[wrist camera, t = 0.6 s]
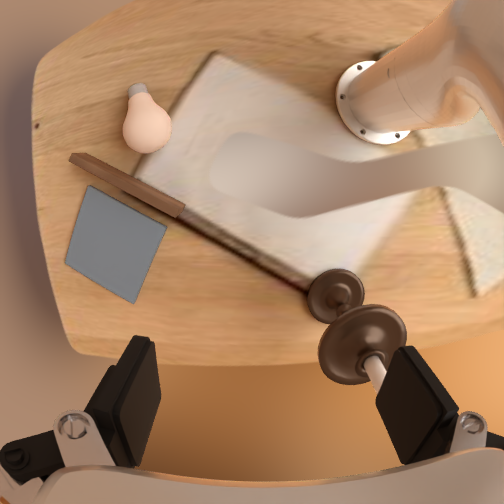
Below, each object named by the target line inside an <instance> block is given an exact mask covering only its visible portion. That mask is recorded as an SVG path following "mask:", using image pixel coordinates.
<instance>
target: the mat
mask: <svg viewBox="0 0 504 504" xmlns="http://www.w3.org/2000/svg"><path fill="white" fill-rule="evenodd" d="M166 229H167V226H165V225H163V224H161V223H159V222H157V221H155V220H154V219H152V218H150V217H148V216H146V215H144V214H142V213H141V212H139V211H137V210H135V209H133V208H131V207H129V206H128V205H126V204H124V203H122V202H120V201H118V200H117V199H115V198H113V197H111V196H109V195H107V194H105V193H104V192H102V191H100V190H98V189H96V188H95V187H93V186H91V185H89V186H88V188H87V191H86V194H85V197H84V200H83V203H82V206H81V209H80V212H79V215H78V218H77V221H76V224H75V228H74V231H73V234H72V238H71V242H70V245H69V249H68V253H67V257H66V261H65V264H67V265H69V266H70V267H72V268H73V269H75V270H76V271H78V272H80V273H81V274H83V275H84V276H86V277H88V278H89V279H91V280H93V281H94V282H96V283H98V284H99V285H101V286H103V287H104V288H106V289H108V290H109V291H111V292H113V293H115V294H116V295H118V296H120V297H122V298H123V299H125V300H127V301H129V302H131V303H132V304H134V303H135V301H136V299H137V296H138V294H139V291H140V289H141V286H142V284H143V282H144V279H145V277H146V274H147V272H148V270H149V267H150V265H151V263H152V260H153V258H154V256H155V253H156V251H157V249H158V247H159V244H160V242H161V240H162V238H163V235H164V233H165V231H166Z"/></svg>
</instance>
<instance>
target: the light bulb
mask: <svg viewBox="0 0 504 504" xmlns="http://www.w3.org/2000/svg"><path fill="white" fill-rule="evenodd" d="M128 96H129V101H128V108H129V109H128V112H127V116H126V118H125V121H124V124H123V136H124V139H125V141H126V143H127V145H128V146H129V147H130V148H132V149H133V150H134V151H136V152H139V153H145V154H147V153H152V152H156V151H157V150H159V149H160V148H162V147H163V146H164V145H165V144H166V143H167V142H168V140H169V138H170V135H171V131H172V126H171V119H170V117H169V116H168V114H167V113H166V111H165V110H164V109H162V108H161V107H160V106H158V105H157V104H156V103H155V102H154V101H153V99H152V97H151V95H150V94H148V91H147V87H146V85H145V84H143V83H137V84H134V85H132V86H131V87H130V88H129V89H128Z"/></svg>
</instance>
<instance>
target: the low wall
mask: <svg viewBox="0 0 504 504" xmlns="http://www.w3.org/2000/svg"><path fill="white" fill-rule="evenodd" d="M69 162H71V163H73V164H75V165H77V166H79V167H80V168H82V169H84V170H86V171H88V172H90V173H92V174H93V175H95V176H97V177H99V178H101V179H103V180H105V181H107V182H108V183H110V184H112V185H114V186H116V187H118V188H120V189H122V190H123V191H125V192H127V193H129V194H131V195H133V196H135V197H137V198H139V199H140V200H142V201H144V202H146V203H148V204H150V205H152V206H154V207H156V208H157V209H159V210H161V211H163V212H165V213H167V214H169V215H171V216H173V217H174V218H175V217H177V216H178V215H179V214H180V213H182V211H183V209H184V207H185V204H183V203H182V202H180V201H178V200H176V199H174V198H172V197H170V196H168V195H166V194H164V193H162V192H160V191H159V190H157V189H155V188H153V187H151V186H149V185H147V184H145V183H143V182H141V181H139V180H137V179H135V178H133V177H132V176H130V175H128V174H126V173H124V172H122V171H120V170H118V169H116V168H114V167H112V166H110V165H108V164H106V163H104V162H102V161H100V160H98V159H97V158H95V157H93V156H91V155H89V154H87V153H72V154H71V156H70V159H69Z"/></svg>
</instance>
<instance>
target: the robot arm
mask: <svg viewBox="0 0 504 504" xmlns="http://www.w3.org/2000/svg"><path fill="white" fill-rule="evenodd" d="M357 68H358V69H359V70H358V69H357ZM340 96H341V97H342V98H343V99H341V98H340ZM335 97H336V105H337V109H338V112H339V114H340V116H341V118H342V120H343V122H344V123H345V125H346V126H347V127H348V128H349V129H350V130H351V131H352V132H353V133H354V134H355V135H356V136H358V137H359V138H361V139H363V140H365V141H367V142H369V143H373V144H379V145H386V144H392V143H396V142H398V141H400V140H402V139H403V138H404V137H406V136H407V135H408V133H409V132H410V131H411V130H420V129H429V128H440V127H451V126H458V125H462V124H464V123H466V122H468V121H470V120H471V119H472V118H473V117H474V116H475V115H476V114H477V113H478V111H479V110H480V108H481V109H482V110H483V112H484V113H485V115H486V117H487V119H488V120H489V122H490V124H491V125H492V127H493V128H494V129H495V131H496V133H497V135H498V137H499V139H500V141H501V143H502V145H503V147H504V0H453V1H452V2H451V3H450V4H449V5H448V6H447V7H446V8H445V9H444V10H443V12H442V13H441V14H440V15H439V16H438V17H437V18H436V19H435V20H434V21H433V22H431V23H430V24H429V25H428V26H427V27H425V28H424V29H423V30H421V31H420V32H419V33H417V34H416V35H415V36H413V37H412V38H410V39H409V40H407V41H406V42H404V43H403V44H402V45H400V46H399V47H397V48H396V49H394V50H393V51H391V52H390V53H388V54H387V55H385V56H384V57H382V58H381V59H380V60H378V61H377V62H376V61H363V62H358V63H356V64H354V65H352V66H351V67H349V68H348V69H347V70H346V71H345V72H344V73H343V74H342V75H341V77H340V79H339V81H338V84H337V87H336V94H335ZM360 131H362V134H360ZM395 135H396V137H395ZM160 400H161V390H160V383H159V376H158V368H157V360H156V352H155V344H154V342H152V341H150V339H149V337H144V336H137V335H134V336H133V337H132V339H131V341H130V342H129V344H128V346H127V347H126V349H125V351H124V353H123V354H122V356H121V358H120V359H119V361H118V363H117V365H116V366H115V365H111V366H110V367H109V368H108V370H107V372H106V373H105V375H104V377H103V378H102V380H101V382H100V383H99V385H98V387H97V389H96V390H95V392H94V394H93V396H92V397H91V399H90V401H89V403H88V404H87V406H86V408H85V410H84V411H80V410H69V411H66V412H63V413H62V414H60V415H59V416H58V417H57V418H56V419H55V421H54V425H53V428H54V430H51V431H48V432H45V433H41V434H38V435H34V436H31V437H27V438H23V439H19V440H16V441H12V442H10V443H7V444H6V445H4V446H3V447H2V449H1V450H0V504H504V437H502V436H499V435H496V434H494V433H491V432H488V431H487V423H486V421H485V419H484V418H483V417H482V416H481V415H479V414H478V413H475V412H470V411H467V412H463V413H461V414H460V415H458V413H457V411H458V410H459V407H458V406H457V405H456V403H455V402H454V400H453V399H452V398H451V396H450V395H449V393H448V392H447V391H446V389H445V388H444V386H443V385H442V383H441V382H440V381H439V379H438V378H437V377H436V375H435V374H434V373H433V372H432V370H431V369H430V367H429V366H428V364H427V363H426V362H425V361H424V359H423V358H422V357H421V355H420V354H419V353H418V351H417V350H416V349H415V347H413V346H401V347H399V348H398V349H397V350H396V351H395V352H394V354H393V356H392V359H391V362H390V365H389V367H388V370H387V372H386V375H385V377H384V380H383V382H382V385H381V387H380V390H379V392H378V394H377V397H376V407H377V409H378V411H379V413H380V415H381V418H382V420H383V422H384V425H385V427H386V429H387V431H388V434H389V436H390V438H391V441H392V443H393V445H394V448H395V450H396V452H397V455H398V457H399V460H400V462H401V463H402V464H404V466H400V467H395V468H391V469H386V470H381V471H376V472H370V473H365V474H358V475H352V476H345V477H337V478H328V479H318V480H305V481H284V482H246V481H225V480H212V479H202V478H193V477H184V476H177V475H170V474H163V473H157V472H152V471H145V470H139V469H134V467H135V466H138V467H139V466H140V464H141V460H142V457H143V454H144V451H145V447H146V444H147V441H148V438H149V435H150V431H151V428H152V425H153V422H154V419H155V416H156V413H157V409H158V406H159V403H160Z"/></svg>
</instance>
